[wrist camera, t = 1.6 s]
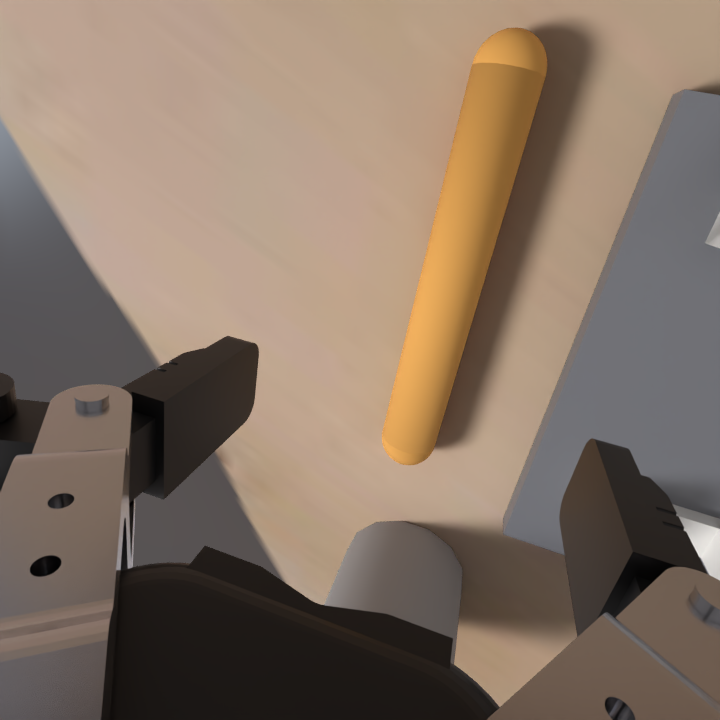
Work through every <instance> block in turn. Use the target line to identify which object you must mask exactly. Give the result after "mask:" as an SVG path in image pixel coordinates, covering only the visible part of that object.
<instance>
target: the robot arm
mask: <svg viewBox="0 0 720 720" xmlns="http://www.w3.org/2000/svg"><path fill="white" fill-rule="evenodd" d="M258 357H259V350H258V346H257V345H256V344H255V343H251V342H248V341H244V340H241V339H237V338H234V337H230V336H226V337H224V338H222V339H221V340H219V341H217V342H216V343H214V344H212V345H210V346H209V347H207V348H205V349H204V348H203V349H199V350H195V351H191V352H186V353H183V354H181V355H179V356H178V357H176V358H174V359H172V360H170V361H169V363H165V364H163V365H161V366H160V367H158V368H157V370H155V369H154V370H152V371H151V372H149V373H147V374H145V375H143V376H142V377H140V378H138V379H136V380H134V381H133V382H131V383H129V384H127V385H125V386H124V387H122V388H119V387H115V386H110V385H85V386H79V387H74V388H71V389H68V390H65V391H63V392H61V393H59V394H58V395H56V396H55V397H54V398H53V399H52V400H51V402H50V403H49V402H39V401H30V400H20V399H16V393H15V385H14V381H13V379H12V378H11V377H10V376H8V375H6V374H3V373H0V720H720V580H718V579H716V578H714V577H712V576H710V575H708V573H707V571H706V569H705V568H704V566H703V564H702V562H701V560H700V558H699V556H698V554H697V552H696V550H695V548H694V546H693V544H692V542H691V540H690V538H689V536H688V534H687V532H686V531H684V526H683V524H682V522H681V520H680V518H679V517H678V516H676V514H677V512H676V510H675V509H674V507H673V505H672V503H671V501H670V499H669V497H668V495H667V494H666V493H665V492H664V491H663V490H662V489H661V488H660V487H659V486H658V485H657V484H656V483H655V482H654V481H653V480H652V479H651V478H650V477H646V476H643V475H641V474H640V471H639V469H638V467H637V465H636V463H635V460H634V458H633V456H632V454H631V452H630V450H629V449H628V448H625V447H622V446H618V445H614V444H611V443H607V442H604V441H600V440H597V439H593V438H592V439H590V440H589V441H588V442H587V443H586V445H585V447H584V449H583V451H582V454H581V456H580V458H579V461H578V463H577V465H576V468H575V470H574V472H573V475H572V477H571V479H570V482H569V484H568V486H567V489H566V491H565V493H564V496H563V499H562V503H561V507H560V515H559V521H560V529H561V535H562V541H563V548H564V554H565V560H566V567H567V573H568V579H569V586H570V592H571V598H572V605H573V611H574V618H575V624H576V630H577V638H576V639H575V640H574V641H573V642H572V643H570V644H569V645H568V646H567V647H566V648H565V649H564V650H563V651H562V652H561V653H559V654H558V655H557V656H556V657H555V658H554V659H553V660H552V661H551V662H549V663H548V664H547V665H546V666H545V667H544V668H543V669H542V670H541V671H540V672H538V673H537V674H536V675H535V676H534V677H533V678H532V679H531V680H530V681H528V682H527V683H526V684H525V685H524V686H523V687H522V688H521V689H520V690H519V691H517V692H516V693H515V694H514V695H513V696H512V697H511V698H510V699H509V700H508V701H506V702H505V703H504V704H503V705H502V706H501V707H499V706H498V705H497V703H496V702H495V701H494V700H493V699H492V698H491V696H490V695H489V694H488V693H487V692H486V691H485V690H484V689H483V688H482V687H481V686H480V685H479V684H478V683H477V682H475V681H474V680H473V679H472V678H471V677H469V676H468V675H467V674H466V673H464V672H463V671H462V670H461V669H459V668H458V667H456V666H455V665H454V664H452V663H451V653H452V644H453V638H451V637H448V636H445V635H443V634H440V633H437V632H435V631H432V630H429V629H427V628H424V627H421V626H419V625H416V624H413V623H411V622H408V621H405V620H403V619H400V618H397V617H395V616H392V615H389V614H385V613H378V612H370V611H363V610H355V609H348V608H341V607H333V606H326V605H320V604H317V603H315V602H313V601H311V600H309V599H308V598H306V597H305V596H303V595H302V594H301V593H299V592H298V591H296V590H295V589H293V588H292V587H290V586H289V585H287V584H286V583H284V582H283V581H281V580H280V579H279V578H277V577H276V576H274V575H273V574H271V573H269V572H268V571H267V570H265V569H264V568H262V567H261V566H258V565H255V564H252V563H250V562H247V561H244V560H242V559H239V558H236V557H234V556H231V555H228V554H226V553H223V552H220V551H218V550H215V549H212V548H210V547H207V546H204V548H203V549H202V550H201V551H200V553H199V554H198V555H197V556H196V558H195V559H194V560H193V561H192V562H191V564H188V563H157V564H148V565H143V566H137V567H133V546H134V524H135V498H136V497H137V496H138V495H139V494H140V493H142V492H144V493H147V494H150V495H152V496H155V497H158V498H161V499H165V498H166V497H167V496H168V495H169V494H170V493H171V492H172V491H173V490H174V489H175V488H176V487H177V486H179V484H181V483H182V482H183V481H184V480H185V479H186V478H187V477H188V476H189V475H190V474H191V473H192V472H193V471H194V470H195V469H196V468H197V467H198V466H200V465H201V464H202V463H203V462H204V461H205V460H206V459H207V458H208V457H209V456H210V455H211V454H212V453H213V452H214V451H215V450H216V449H217V448H218V447H219V446H221V445H222V444H223V443H224V442H225V441H226V440H227V439H228V438H229V437H230V436H231V435H232V434H233V433H234V432H235V431H236V430H237V429H238V428H239V427H240V426H242V425H243V424H244V423H245V421H246V420H247V419H248V417H249V415H250V413H251V411H252V408H253V405H254V399H255V389H256V378H257V368H258Z"/></svg>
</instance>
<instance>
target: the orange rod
mask: <svg viewBox="0 0 720 720" xmlns="http://www.w3.org/2000/svg"><path fill="white" fill-rule="evenodd" d="M546 73H547V57H546V51H545V49H544V46H543V44H542V43H541V41H540V40H539V39H538V37H536V36H535V35H534V34H533V33H532V32H530V31H527V30H525V29H522V28H507V29H504V30H501V31H499V32H497V33H495V34H494V35H492V36H491V37H489V38H488V39H487V40H486V41H485V42H484V43H483V44H482V46H481V47H480V48H479V50H478V52H477V54H476V56H475V58H474V61H473V64H472V67H471V71H470V75H469V79H468V83H467V87H466V92H465V96H464V100H463V104H462V108H461V112H460V116H459V120H458V124H457V128H456V133H455V137H454V141H453V145H452V149H451V153H450V157H449V161H448V165H447V169H446V174H445V178H444V182H443V186H442V190H441V194H440V198H439V202H438V206H437V211H436V215H435V219H434V223H433V227H432V231H431V235H430V239H429V243H428V247H427V252H426V256H425V260H424V264H423V268H422V272H421V276H420V280H419V284H418V288H417V293H416V297H415V301H414V305H413V309H412V313H411V317H410V321H409V325H408V329H407V334H406V338H405V342H404V346H403V350H402V354H401V358H400V362H399V366H398V371H397V375H396V379H395V383H394V387H393V391H392V395H391V399H390V403H389V407H388V412H387V416H386V420H385V424H384V428H383V433H382V442H383V446H384V449H385V451H386V453H387V454H388V455H389V457H390V458H392V459H393V460H394V461H396V462H398V463H400V464H403V465H415V464H418V463H421V462H423V461H424V460H426V459H427V458H428V457H429V456H430V454H431V453H432V451H433V449H434V447H435V444H436V440H437V437H438V434H439V430H440V427H441V424H442V420H443V417H444V414H445V410H446V407H447V404H448V400H449V397H450V394H451V390H452V387H453V384H454V380H455V377H456V374H457V370H458V367H459V364H460V360H461V357H462V354H463V350H464V347H465V344H466V340H467V337H468V334H469V330H470V327H471V324H472V320H473V317H474V314H475V310H476V307H477V304H478V301H479V297H480V294H481V291H482V287H483V284H484V281H485V277H486V274H487V271H488V267H489V264H490V261H491V257H492V254H493V251H494V247H495V244H496V241H497V237H498V234H499V231H500V227H501V224H502V221H503V217H504V214H505V211H506V207H507V204H508V201H509V197H510V194H511V191H512V187H513V184H514V181H515V177H516V174H517V171H518V167H519V164H520V161H521V158H522V154H523V151H524V148H525V144H526V141H527V138H528V134H529V131H530V128H531V124H532V121H533V118H534V114H535V111H536V108H537V104H538V101H539V98H540V94H541V91H542V88H543V84H544V81H545V77H546Z"/></svg>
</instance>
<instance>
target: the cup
mask: <svg viewBox="0 0 720 720" xmlns="http://www.w3.org/2000/svg"><path fill="white" fill-rule="evenodd" d="M461 592H462V567H461V565H460V563H459V561H458V560H457V558H456V556H455V554H454V552H453V550H452V548H451V547H450V546H449V545H448V544H446V543H445V542H444V541H442V540H441V539H440V538H439V537H437V536H436V535H435V534H434V533H432V532H431V531H430V530H428V529H425V528H422V527H419V526H416V525H413V524H410V523H407V522H404V521H387V522H375V523H374V524H372V525H370V526H368V527H366V528H364V529H363V530H361V531H359V532H357V533H356V535H355V537H354V539H353V540H352V542H351V544H350V546H349V548H348V549H347V552H346V554H345V557H344V559H343V561H342V564H341V566H340V568H339V571H338V573H337V576H336V578H335V580H334V583H333V585H332V588H331V590H330V592H329V595H328V597H327V599H326V602H325V604H324V605H326V606H333V607H341V608H348V609H355V610H363V611H370V612H378V613H385V614H389V615H392V616H395V617H397V618H400V619H403V620H405V621H408V622H411V623H413V624H416V625H419V626H421V627H424V628H427V629H429V630H432V631H435V632H437V633H440V634H443V635H445V636H448V637H451V638H453V644H452V653H451V663H452V664H454V659H455V649H456V640H457V630H458V621H459V611H460V602H461Z"/></svg>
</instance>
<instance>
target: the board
mask: <svg viewBox="0 0 720 720" xmlns="http://www.w3.org/2000/svg"><path fill="white" fill-rule="evenodd" d="M592 438H593V439H597V440H600V441H604V442H607V443H611V444H614V445H618V446H622V447H625V448H628V449H629V450H630V452H631V454H632V456H633V458H634V460H635V463H636V465H637V467H638V469H639V471H640V474H641V475H643V476H646V477H650V478H651V479H652V480H653V481H654V482H655V483H656V484H657V485H658V486H659V487H660V488H661V489H662V490H663V491H664V492H665V493H666V494H667V495H668V497H669V499H670V501H671V503H672V505H673V507H674V509H675V510H676V512H677V514H676V516H678V517H679V518H680V520H681V522H682V524H683V526H684V531H686V532H687V534H688V536H689V538H690V540H691V542H692V544H693V546H694V548H695V550H696V552H697V554H698V556H699V558H700V560H701V562H702V564H703V566H704V568H705V569H706V571H707V573H708V575H710V576H712V577H714V578H716V579H718V580H720V95H715V94H709V93H703V92H697V91H691V90H685V89H684V90H682V91H680V92H678V93H676V94H674V95H673V96H672V98H671V101H670V103H669V106H668V108H667V111H666V113H665V116H664V118H663V121H662V123H661V126H660V128H659V131H658V133H657V136H656V138H655V141H654V143H653V146H652V148H651V151H650V153H649V156H648V158H647V161H646V163H645V166H644V168H643V171H642V173H641V176H640V178H639V181H638V183H637V186H636V188H635V191H634V193H633V196H632V198H631V201H630V203H629V206H628V208H627V211H626V213H625V216H624V218H623V220H622V223H621V225H620V228H619V230H618V233H617V235H616V238H615V240H614V243H613V245H612V248H611V250H610V253H609V255H608V258H607V260H606V263H605V265H604V268H603V270H602V273H601V275H600V278H599V280H598V283H597V285H596V288H595V290H594V293H593V295H592V298H591V300H590V303H589V305H588V308H587V310H586V313H585V315H584V318H583V320H582V323H581V325H580V328H579V330H578V333H577V335H576V338H575V340H574V343H573V345H572V348H571V350H570V353H569V355H568V358H567V360H566V363H565V365H564V368H563V370H562V373H561V375H560V378H559V380H558V383H557V385H556V388H555V390H554V393H553V395H552V398H551V400H550V403H549V405H548V408H547V410H546V413H545V415H544V418H543V420H542V423H541V425H540V428H539V430H538V433H537V435H536V438H535V440H534V443H533V445H532V448H531V450H530V453H529V455H528V458H527V460H526V463H525V465H524V468H523V470H522V473H521V475H520V478H519V480H518V483H517V485H516V488H515V490H514V493H513V495H512V498H511V500H510V503H509V505H508V508H507V510H506V513H505V515H504V518H503V535H506V536H509V537H512V538H515V539H518V540H521V541H524V542H527V543H530V544H533V545H536V546H539V547H541V548H544V549H547V550H550V551H553V552H556V553H559V554H562V555H565V554H564V548H563V541H562V535H561V529H560V521H559V515H560V507H561V503H562V499H563V496H564V493H565V491H566V489H567V486H568V484H569V482H570V479H571V477H572V475H573V472H574V470H575V468H576V465H577V463H578V461H579V458H580V456H581V454H582V451H583V449H584V447H585V445H586V443H587V442H588V441H589V440H590V439H592Z"/></svg>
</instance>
